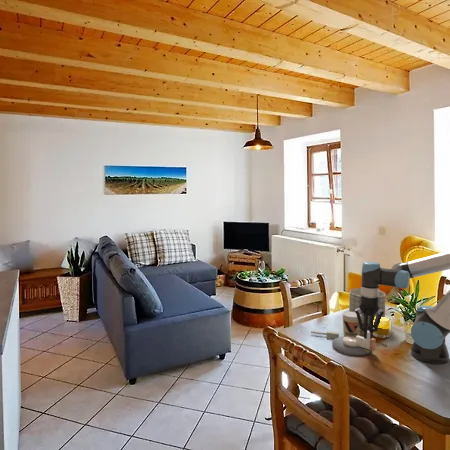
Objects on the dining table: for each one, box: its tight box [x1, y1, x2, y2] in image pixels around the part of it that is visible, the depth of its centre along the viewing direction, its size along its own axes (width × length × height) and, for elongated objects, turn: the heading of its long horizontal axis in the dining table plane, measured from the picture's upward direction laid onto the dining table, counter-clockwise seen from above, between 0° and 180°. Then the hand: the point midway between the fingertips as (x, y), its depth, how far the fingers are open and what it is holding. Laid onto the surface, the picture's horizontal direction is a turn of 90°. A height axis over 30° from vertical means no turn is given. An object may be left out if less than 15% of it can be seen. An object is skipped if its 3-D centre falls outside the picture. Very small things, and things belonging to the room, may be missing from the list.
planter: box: [348, 287, 387, 327], centre depth 202 cm, size 19×19×18 cm
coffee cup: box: [342, 311, 362, 337], centre depth 185 cm, size 9×9×12 cm
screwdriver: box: [310, 330, 340, 340], centre depth 186 cm, size 14×3×3 cm, turn 69°
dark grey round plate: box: [331, 336, 372, 357], centre depth 173 cm, size 18×18×2 cm
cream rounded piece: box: [343, 335, 376, 352], centre depth 170 cm, size 15×8×5 cm, turn 46°
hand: (367, 345), depth 165 cm, fingers closed
